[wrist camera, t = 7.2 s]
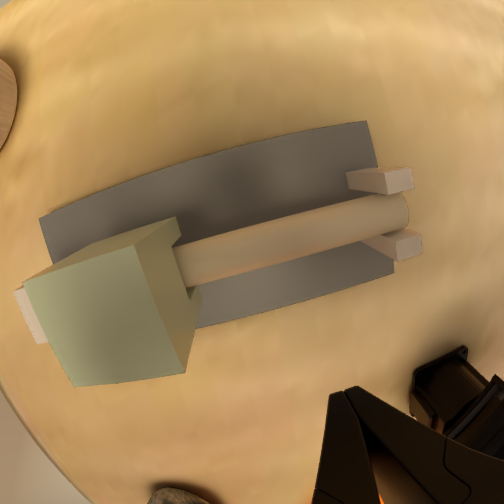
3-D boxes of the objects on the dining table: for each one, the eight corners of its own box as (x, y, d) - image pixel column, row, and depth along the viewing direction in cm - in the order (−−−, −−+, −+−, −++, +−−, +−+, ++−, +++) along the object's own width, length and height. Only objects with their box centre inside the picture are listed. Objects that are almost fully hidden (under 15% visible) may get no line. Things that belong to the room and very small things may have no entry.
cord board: (357, 124, 18) (411, 103, 11) (384, 266, 20) (438, 302, 13) (49, 215, 18) (-12, 233, 11) (97, 339, 20) (59, 392, 14)
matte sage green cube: (175, 216, 15) (134, 244, 8) (202, 299, 16) (184, 372, 9) (92, 243, 15) (22, 282, 8) (121, 319, 16) (74, 387, 10)
